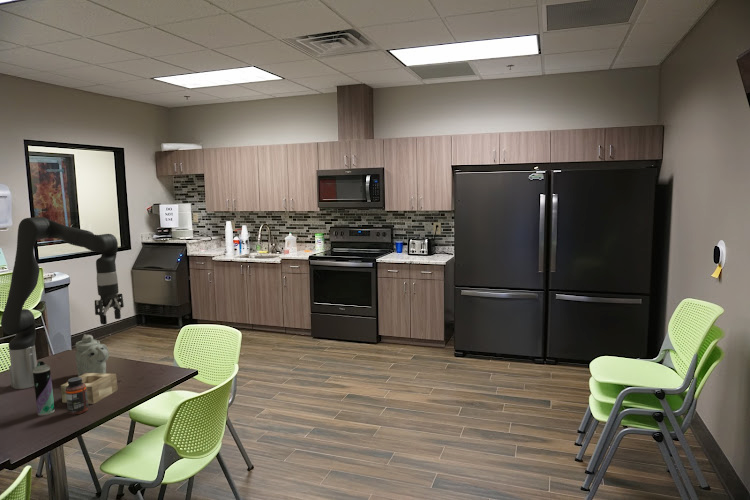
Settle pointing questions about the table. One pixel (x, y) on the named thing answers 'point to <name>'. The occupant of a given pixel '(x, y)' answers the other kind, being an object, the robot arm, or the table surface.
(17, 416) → the table surface
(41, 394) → the spray can
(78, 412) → the supplement bottle
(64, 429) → the table surface
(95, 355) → the grey animal cookie jar
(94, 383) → the tube block
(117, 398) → the table surface
